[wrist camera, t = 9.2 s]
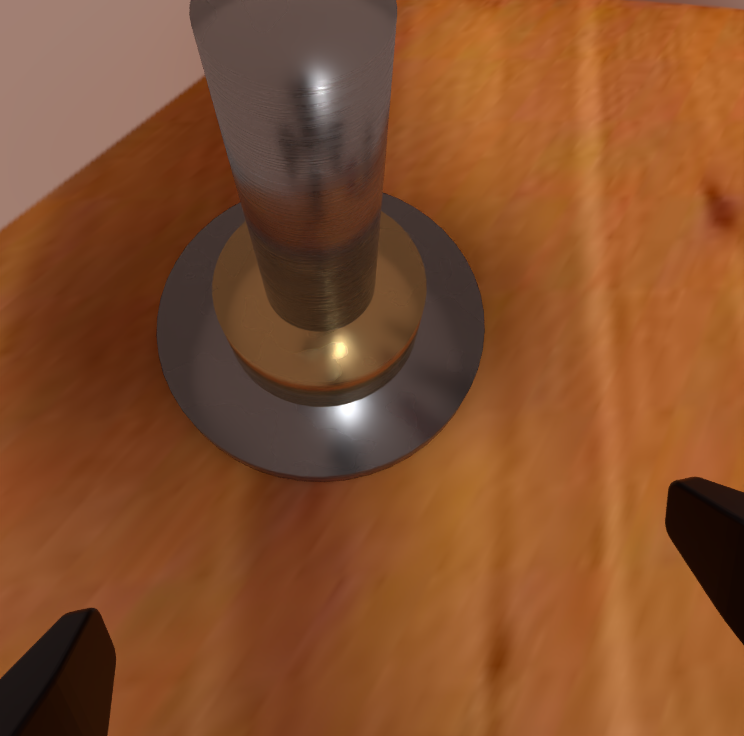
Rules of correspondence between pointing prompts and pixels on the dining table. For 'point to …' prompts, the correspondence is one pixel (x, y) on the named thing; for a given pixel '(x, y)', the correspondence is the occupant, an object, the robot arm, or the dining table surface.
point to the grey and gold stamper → (310, 196)
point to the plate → (335, 423)
